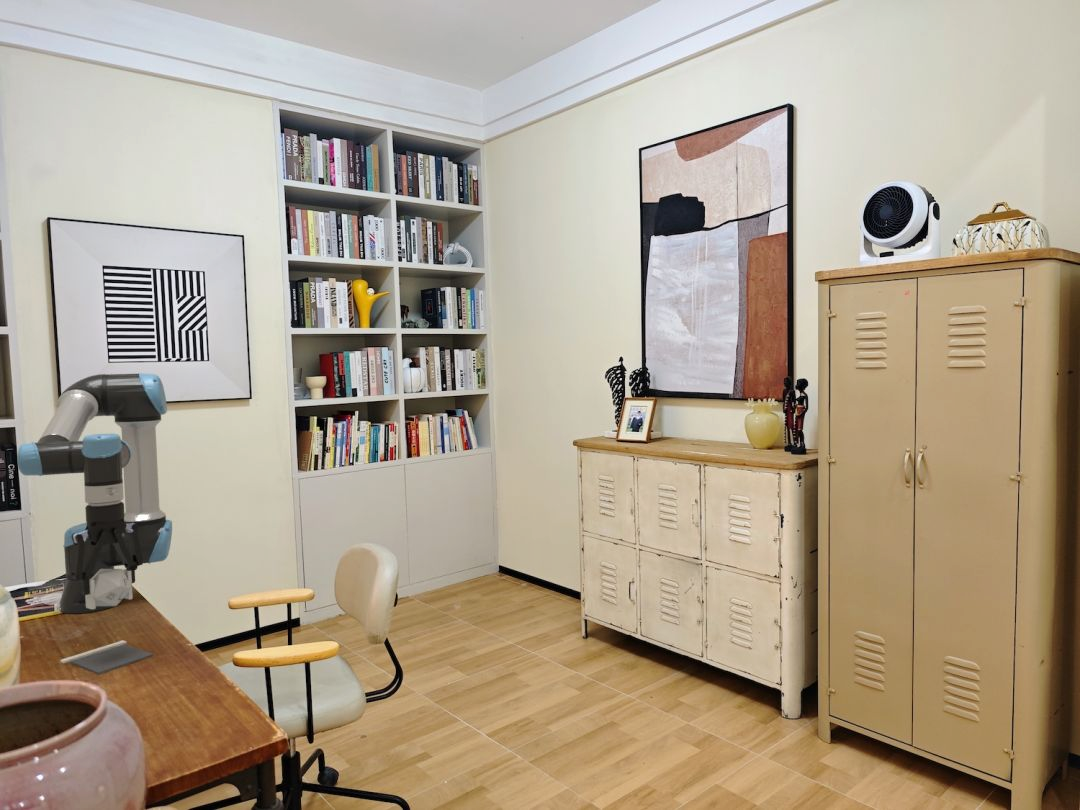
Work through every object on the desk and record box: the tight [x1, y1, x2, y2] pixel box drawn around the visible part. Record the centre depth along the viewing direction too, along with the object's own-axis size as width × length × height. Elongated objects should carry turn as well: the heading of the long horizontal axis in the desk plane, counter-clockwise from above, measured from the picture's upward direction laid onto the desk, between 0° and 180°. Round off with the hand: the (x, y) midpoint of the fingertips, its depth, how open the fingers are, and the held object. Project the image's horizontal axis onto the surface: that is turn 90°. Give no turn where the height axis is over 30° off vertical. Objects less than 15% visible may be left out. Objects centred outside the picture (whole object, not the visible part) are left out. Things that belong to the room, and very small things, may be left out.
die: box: [91, 568, 133, 607], centre depth 169 cm, size 8×9×10 cm
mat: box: [59, 639, 154, 675], centre depth 171 cm, size 14×15×1 cm
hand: (109, 602), depth 169 cm, fingers closed on die, 7 cm apart
